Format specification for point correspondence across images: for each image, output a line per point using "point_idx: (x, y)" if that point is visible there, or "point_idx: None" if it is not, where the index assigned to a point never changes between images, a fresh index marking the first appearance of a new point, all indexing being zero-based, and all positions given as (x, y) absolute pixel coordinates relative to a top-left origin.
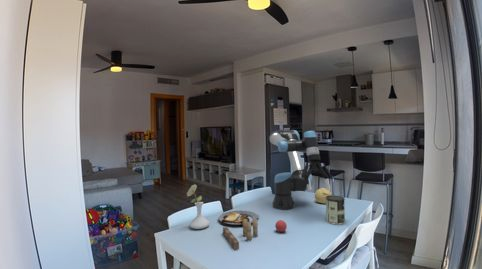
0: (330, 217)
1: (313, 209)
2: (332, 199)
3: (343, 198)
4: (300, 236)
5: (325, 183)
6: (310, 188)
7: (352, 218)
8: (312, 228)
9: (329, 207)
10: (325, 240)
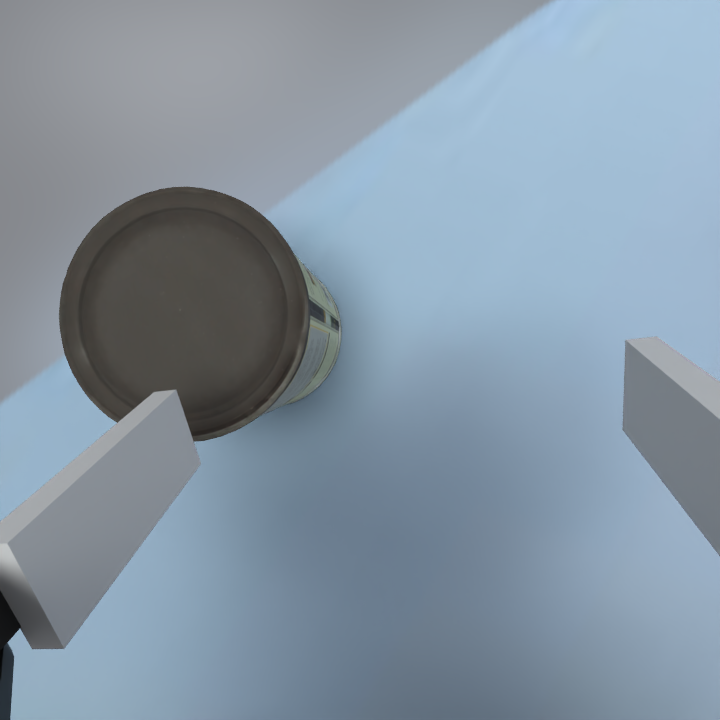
0: (328, 299)
1: (274, 673)
2: (271, 244)
3: (101, 236)
4: (707, 146)
5: (130, 549)
6: (661, 344)
7: None
8: (534, 258)
9: (318, 295)
10: (562, 33)
